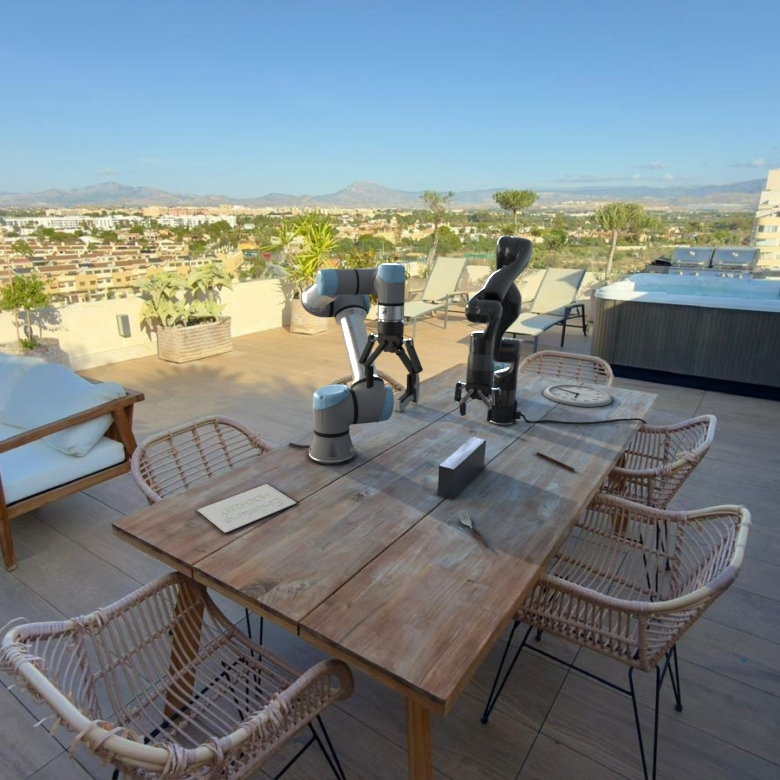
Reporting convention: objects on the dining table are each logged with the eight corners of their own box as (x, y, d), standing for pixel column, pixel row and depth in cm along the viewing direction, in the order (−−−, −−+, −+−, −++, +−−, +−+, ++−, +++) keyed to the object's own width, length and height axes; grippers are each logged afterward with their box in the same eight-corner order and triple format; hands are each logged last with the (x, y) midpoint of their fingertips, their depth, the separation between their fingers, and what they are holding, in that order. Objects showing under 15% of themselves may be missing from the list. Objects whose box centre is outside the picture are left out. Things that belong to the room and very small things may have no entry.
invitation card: (266, 483, 153) (296, 502, 143) (266, 484, 153) (296, 503, 143) (197, 509, 139) (225, 532, 129) (197, 510, 139) (225, 533, 129)
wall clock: (625, 402, 226) (558, 403, 224) (625, 406, 227) (558, 407, 224) (594, 383, 255) (534, 383, 252) (593, 386, 255) (534, 386, 253)
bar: (470, 463, 170) (472, 436, 167) (483, 466, 167) (486, 439, 165) (437, 495, 149) (438, 465, 146) (452, 499, 147) (453, 469, 144)
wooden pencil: (536, 454, 177) (536, 452, 176) (537, 454, 177) (537, 451, 177) (573, 471, 165) (573, 468, 164) (574, 471, 165) (574, 468, 165)
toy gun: (393, 376, 211) (414, 366, 222) (394, 412, 217) (415, 401, 228) (398, 377, 210) (419, 367, 221) (399, 414, 216) (419, 402, 227)
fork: (482, 550, 123) (483, 543, 123) (456, 516, 138) (457, 509, 138) (492, 549, 124) (493, 542, 124) (465, 515, 139) (466, 508, 138)
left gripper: (346, 317, 151) (347, 387, 157) (424, 326, 139) (421, 402, 145) (361, 313, 157) (361, 381, 163) (436, 322, 145) (433, 395, 151)
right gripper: (452, 365, 156) (449, 416, 161) (498, 373, 149) (494, 426, 154) (462, 360, 162) (459, 410, 167) (506, 367, 155) (502, 418, 160)
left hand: (389, 391), depth 154 cm, fingers open, 13 cm apart
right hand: (476, 417), depth 161 cm, fingers open, 8 cm apart
